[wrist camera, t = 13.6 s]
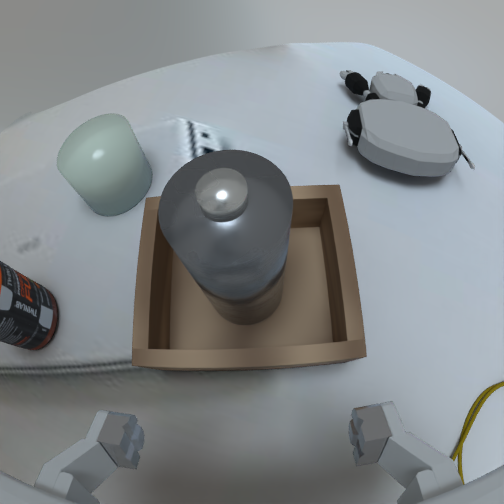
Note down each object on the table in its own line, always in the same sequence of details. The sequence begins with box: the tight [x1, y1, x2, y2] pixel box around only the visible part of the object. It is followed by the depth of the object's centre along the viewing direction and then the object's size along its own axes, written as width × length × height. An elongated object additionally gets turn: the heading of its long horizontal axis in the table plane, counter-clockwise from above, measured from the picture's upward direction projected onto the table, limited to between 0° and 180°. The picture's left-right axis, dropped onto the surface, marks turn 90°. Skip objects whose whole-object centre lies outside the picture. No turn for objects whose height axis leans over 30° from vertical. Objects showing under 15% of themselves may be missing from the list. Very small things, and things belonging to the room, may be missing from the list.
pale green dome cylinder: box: [57, 114, 152, 216], centre depth 25 cm, size 7×7×6 cm
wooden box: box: [132, 185, 367, 371], centre depth 20 cm, size 13×11×5 cm
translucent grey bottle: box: [158, 150, 293, 325], centre depth 16 cm, size 5×5×12 cm
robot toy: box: [340, 70, 475, 177], centre depth 27 cm, size 12×4×15 cm
